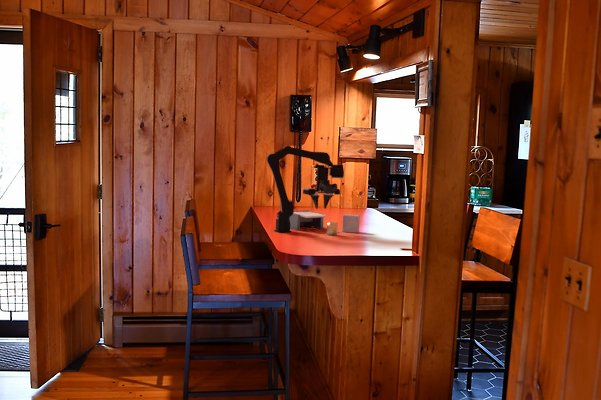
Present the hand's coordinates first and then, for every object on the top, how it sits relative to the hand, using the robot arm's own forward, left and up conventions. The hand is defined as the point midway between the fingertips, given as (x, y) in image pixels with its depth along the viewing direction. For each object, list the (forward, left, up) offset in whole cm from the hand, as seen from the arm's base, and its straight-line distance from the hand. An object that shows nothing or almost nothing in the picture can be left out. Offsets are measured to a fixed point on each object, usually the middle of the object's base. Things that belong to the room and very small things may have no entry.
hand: (320, 208), depth 330 cm
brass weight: (+1, -9, -12) cm, 15 cm away
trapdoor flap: (0, +11, -9) cm, 14 cm away
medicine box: (+16, -4, -12) cm, 20 cm away
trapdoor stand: (0, +16, -12) cm, 20 cm away
